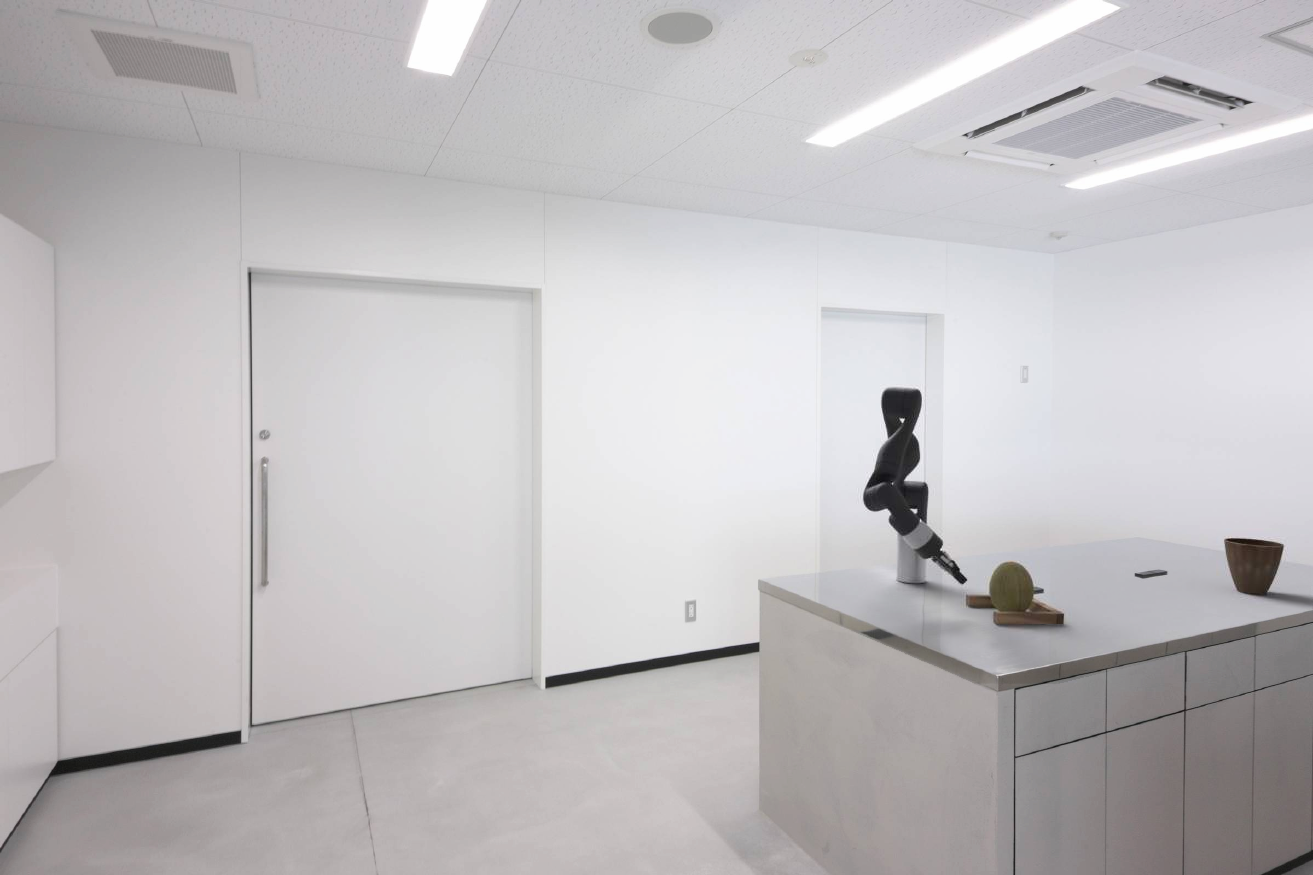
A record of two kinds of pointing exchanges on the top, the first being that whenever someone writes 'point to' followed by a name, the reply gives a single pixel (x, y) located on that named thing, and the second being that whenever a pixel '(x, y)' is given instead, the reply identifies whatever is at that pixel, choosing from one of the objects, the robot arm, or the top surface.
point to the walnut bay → (1037, 616)
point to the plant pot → (1253, 563)
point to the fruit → (1011, 587)
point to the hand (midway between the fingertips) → (964, 581)
